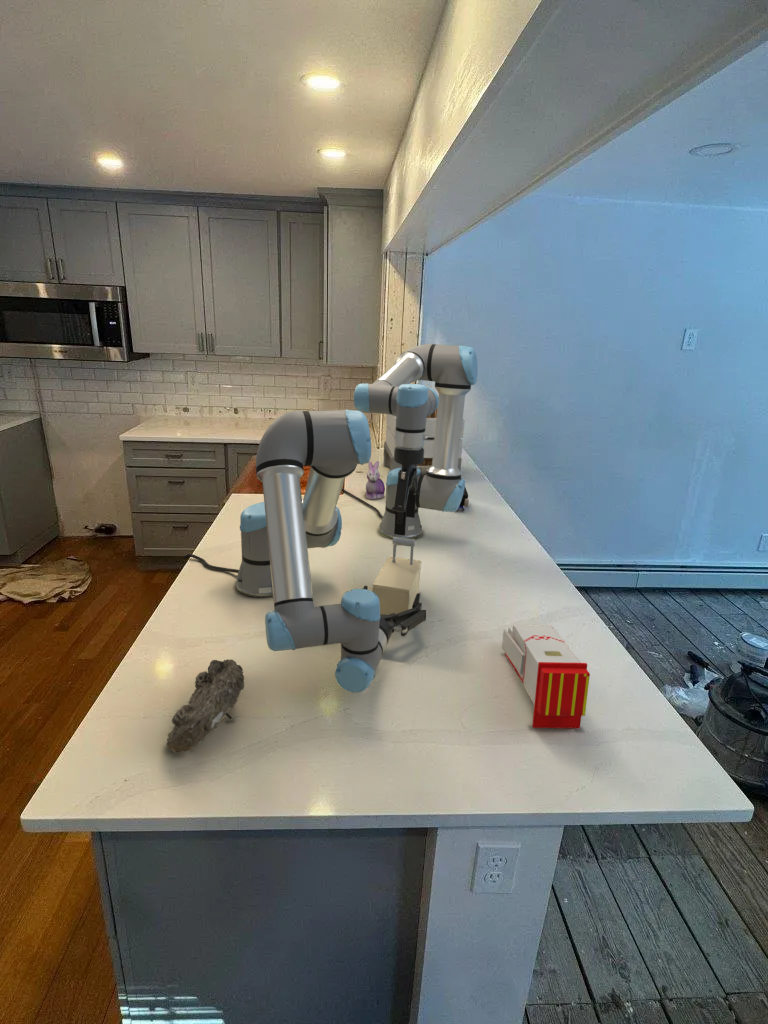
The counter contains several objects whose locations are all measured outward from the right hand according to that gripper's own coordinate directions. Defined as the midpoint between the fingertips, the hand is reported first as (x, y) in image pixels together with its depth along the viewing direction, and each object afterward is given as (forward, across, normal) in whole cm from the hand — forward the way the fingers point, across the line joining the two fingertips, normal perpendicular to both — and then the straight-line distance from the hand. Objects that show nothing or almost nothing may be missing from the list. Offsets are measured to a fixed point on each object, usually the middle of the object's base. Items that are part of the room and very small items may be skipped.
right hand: (404, 525), depth 151 cm
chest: (+21, -6, 0) cm, 22 cm away
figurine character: (+21, +80, -8) cm, 83 cm away
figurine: (+21, +81, +28) cm, 88 cm away
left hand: (+14, -13, 0) cm, 19 cm away
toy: (+21, -31, -36) cm, 52 cm away
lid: (+12, -6, 0) cm, 13 cm away
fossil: (+21, -59, +25) cm, 67 cm away
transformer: (+21, +124, +16) cm, 127 cm away
